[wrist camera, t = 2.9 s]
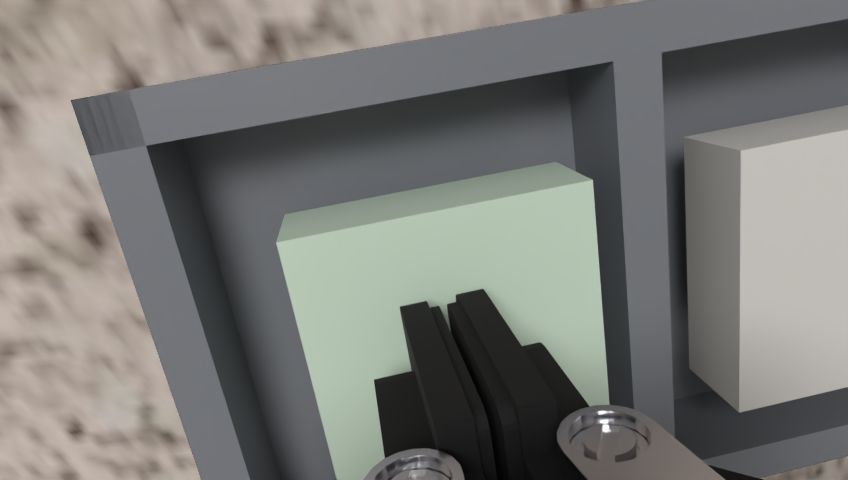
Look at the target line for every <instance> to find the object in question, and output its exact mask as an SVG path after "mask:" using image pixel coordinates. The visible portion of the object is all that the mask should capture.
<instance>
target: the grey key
mask: <svg viewBox="0 0 848 480" xmlns="http://www.w3.org/2000/svg"><path fill="white" fill-rule="evenodd" d="M684 167H685V208H686V249H687V290H688V331H689V369H691V370H692V371H693V372H694V373H695V374H696V375H697V376H698V377H700V378H701V379H702V380H703V381H704V382H705V383H706V384H707V385H709V386H710V387H711V388H712V389H713V390H714V391H715V392H716V393H718V394H719V395H720V396H721V397H722V398H723V399H724V400H725V401H727V402H728V403H729V404H730V405H731V406H732V407H733V408H734V409H736V410H737V411H738V412H739V413H740V412H744V411H749V410H753V409H757V408H761V407H766V406H770V405H774V404H778V403H782V402H787V401H791V400H795V399H799V398H803V397H808V396H812V395H816V394H820V393H825V392H829V391H833V390H837V389H841V388H846V387H848V105H846V106H841V107H836V108H831V109H825V110H820V111H815V112H810V113H805V114H800V115H794V116H789V117H784V118H779V119H774V120H769V121H764V122H758V123H753V124H748V125H743V126H738V127H733V128H727V129H722V130H717V131H712V132H707V133H702V134H696V135H691V136H686V137H684Z"/></svg>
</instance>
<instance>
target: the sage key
mask: <svg viewBox="0 0 848 480" xmlns="http://www.w3.org/2000/svg"><path fill="white" fill-rule="evenodd" d="M276 244H277V248H278V252H279V256H280V260H281V264H282V268H283V271H284V275H285V279H286V283H287V287H288V291H289V295H290V299H291V303H292V307H293V311H294V314H295V318H296V322H297V326H298V330H299V334H300V338H301V342H302V346H303V350H304V354H305V357H306V361H307V365H308V369H309V373H310V377H311V381H312V385H313V389H314V393H315V397H316V400H317V404H318V408H319V412H320V416H321V420H322V424H323V428H324V432H325V436H326V439H327V443H328V447H329V451H330V455H331V459H332V463H333V467H334V471H335V475H336V479H337V480H364V478H365V477H366V475H367V474H368V473H369V471H370V470H371V469H372V468H373V467H374V466H375V465H377V464H378V463H379V462H380V461H382V460H383V459H385V456H384V449H383V442H382V435H381V427H380V420H379V413H378V406H377V399H376V392H375V385H374V379H379V378H383V377H387V376H392V375H396V374H401V373H405V372H410V371H412V370H411V365H410V360H409V354H408V349H407V344H406V339H405V334H404V329H403V323H402V318H401V313H400V306H405V305H410V304H414V303H419V302H424V301H427V302H428V305H429V307H435V306H439V307H440V309H441V311H442V313H443V316H444V318H445V320H446V322H447V325H448V327H449V329H450V323H449V317H448V311H447V304H449V303H454V302H456V295H457V294H461V293H465V292H470V291H475V290H479V289H484V290H485V292H486V293H487V295H488V296H489V298H490V299H491V301H492V302H493V304H494V305H495V307H496V308H497V310H498V311H499V313H500V314H501V316H502V317H503V319H504V320H505V322H506V323H507V325H508V326H509V328H510V329H511V331H512V332H513V334H514V335H515V337H516V338H517V340H518V341H519V343H520V344H521V346H525V345H529V344H534V343H538V342H541V343H542V344H543V345H544V346H545V347H546V348H547V350H548V351H549V352H550V354H551V355H552V356H553V358H554V359H555V361H556V362H557V363H558V365H559V366H560V367H561V369H562V370H563V371H564V373H565V374H566V375H567V377H568V378H569V379H570V381H571V382H572V383H573V385H574V386H575V387H576V389H577V390H578V391H579V393H580V394H581V395H582V397H583V398H584V399H585V401H586V402H587V404H588V405H589V406H595V405H610V404H609V390H608V377H607V363H606V350H605V337H604V323H603V310H602V296H601V283H600V269H599V256H598V243H597V229H596V216H595V202H594V189H593V180H592V179H590V178H588V177H586V176H584V175H582V174H580V173H578V172H576V171H574V170H572V169H570V168H568V167H565V166H563V165H561V164H559V163H557V162H552V163H547V164H542V165H537V166H531V167H526V168H521V169H516V170H511V171H506V172H501V173H495V174H490V175H485V176H480V177H475V178H470V179H464V180H459V181H454V182H449V183H444V184H439V185H434V186H428V187H423V188H418V189H413V190H408V191H403V192H397V193H392V194H387V195H382V196H377V197H372V198H366V199H361V200H356V201H351V202H346V203H341V204H336V205H330V206H325V207H320V208H315V209H310V210H305V211H299V212H294V213H289V214H285V215H284V218H283V222H282V225H281V228H280V231H279V235H278V238H277V241H276ZM450 331H451V329H450Z"/></svg>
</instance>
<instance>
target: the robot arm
mask: <svg viewBox="0 0 848 480" xmlns="http://www.w3.org/2000/svg"><path fill="white" fill-rule="evenodd" d="M447 311H448V317H449V323H450V329H451V331H450V329H449V327H448V325H447V322H446V320H445V318H444V316H443V313H442V311H441V309H440V307H439V306H435V307H429V305H428V302H427V301H424V302H419V303H414V304H410V305H405V306H400V313H401V318H402V323H403V329H404V334H405V339H406V344H407V349H408V354H409V360H410V365H411V370H412V371H410V372H405V373H401V374H396V375H392V376H387V377H383V378H379V379H374V385H375V392H376V399H377V406H378V413H379V420H380V427H381V435H382V442H383V449H384V456H385V459H383V460H382V461H380V462H379V463H378V464H377V465H375V466H374V467H373V468H372V469H371V470H370V471H369V473H368V474H367V475H366V477H365V478H364V480H763V479H759V478H755V477H752V476H748V475H744V474H740V473H737V472H733V471H729V470H726V469H722V468H718V467H714V466H711V465H707V464H706V463H704V462H703V461H702V460H701V459H700V458H698V457H697V456H696V455H695V454H694V453H692V452H691V451H690V450H689V449H688V448H686V447H685V446H684V445H683V444H682V443H680V442H679V441H678V440H677V439H675V438H674V437H673V436H672V435H671V434H669V433H668V432H667V431H666V430H665V429H663V428H662V427H661V426H660V425H659V424H657V423H656V422H655V421H654V420H653V419H651V418H649V417H648V416H646V415H645V414H643V413H641V412H639V411H636V410H634V409H631V408H628V407H623V406H616V405H595V406H589V405H588V404H587V402H586V401H585V399H584V398H583V397H582V395H581V394H580V393H579V391H578V390H577V389H576V387H575V386H574V385H573V383H572V382H571V381H570V379H569V378H568V377H567V375H566V374H565V373H564V371H563V370H562V369H561V367H560V366H559V365H558V363H557V362H556V361H555V359H554V358H553V356H552V355H551V354H550V352H549V351H548V350H547V348H546V347H545V346H544V345H543V344H542V343H541V342H538V343H534V344H529V345H525V346H521V344H520V343H519V341H518V340H517V338H516V337H515V335H514V334H513V332H512V331H511V329H510V328H509V326H508V325H507V323H506V322H505V320H504V319H503V317H502V316H501V314H500V313H499V311H498V310H497V308H496V307H495V305H494V304H493V302H492V301H491V299H490V298H489V296H488V295H487V293H486V292H485V290H484V289H479V290H475V291H470V292H465V293H461V294H457V295H456V302H454V303H449V304H447Z"/></svg>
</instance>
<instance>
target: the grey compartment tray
mask: <svg viewBox="0 0 848 480" xmlns="http://www.w3.org/2000/svg"><path fill="white" fill-rule="evenodd" d="M71 102H72V105H73V108H74V111H75V114H76V117H77V120H78V123H79V126H80V129H81V131H82V134H83V137H84V140H85V143H86V146H87V149H88V152H89V155H90V158H91V160H92V163H93V166H94V169H95V172H96V175H97V178H98V181H99V184H100V187H101V190H102V192H103V195H104V198H105V201H106V204H107V207H108V210H109V213H110V216H111V219H112V221H113V224H114V227H115V230H116V233H117V236H118V239H119V242H120V245H121V248H122V251H123V253H124V256H125V259H126V262H127V265H128V268H129V271H130V274H131V277H132V280H133V283H134V285H135V288H136V291H137V294H138V297H139V300H140V303H141V306H142V309H143V312H144V314H145V317H146V320H147V323H148V326H149V329H150V332H151V335H152V338H153V341H154V344H155V346H156V349H157V352H158V355H159V358H160V361H161V364H162V367H163V370H164V373H165V375H166V378H167V381H168V384H169V387H170V390H171V393H172V396H173V399H174V402H175V405H176V407H177V410H178V413H179V416H180V419H181V422H182V425H183V428H184V431H185V434H186V436H187V439H188V442H189V445H190V448H191V451H192V454H193V457H194V460H195V463H196V466H197V468H198V471H199V474H200V477H201V480H337V479H336V475H335V471H334V467H333V463H332V459H331V455H330V451H329V447H328V443H327V439H326V436H325V432H324V428H323V424H322V420H321V416H320V412H319V408H318V404H317V400H316V397H315V393H314V389H313V385H312V381H311V377H310V373H309V369H308V365H307V361H306V357H305V354H304V350H303V346H302V342H301V338H300V334H299V330H298V326H297V322H296V318H295V314H294V311H293V307H292V303H291V299H290V295H289V291H288V287H287V283H286V279H285V275H284V271H283V268H282V264H281V260H280V256H279V252H278V248H277V244H276V241H277V238H278V235H279V231H280V228H281V225H282V222H283V218H284V215H285V214H289V213H294V212H299V211H305V210H310V209H315V208H320V207H325V206H330V205H336V204H341V203H346V202H351V201H356V200H361V199H366V198H372V197H377V196H382V195H387V194H392V193H397V192H403V191H408V190H413V189H418V188H423V187H428V186H434V185H439V184H444V183H449V182H454V181H459V180H464V179H470V178H475V177H480V176H485V175H490V174H495V173H501V172H506V171H511V170H516V169H521V168H526V167H531V166H537V165H542V164H547V163H552V162H557V163H559V164H561V165H563V166H565V167H568V168H570V169H572V170H574V171H576V172H578V173H580V174H582V175H584V176H586V177H588V178H590V179H592V180H593V189H594V202H595V216H596V229H597V243H598V256H599V269H600V283H601V296H602V310H603V323H604V337H605V350H606V363H607V377H608V390H609V404H610V405H616V406H623V407H628V408H631V409H634V410H636V411H639V412H641V413H643V414H645V415H646V416H648V417H649V418H651V419H653V420H654V421H655V422H656V423H657V424H659V425H660V426H661V427H662V428H663V429H665V430H666V431H667V432H668V433H669V434H671V435H672V436H673V437H674V438H675V439H677V440H678V441H679V442H680V443H682V444H683V445H684V446H685V447H686V448H688V449H689V450H690V451H691V452H692V453H694V454H695V455H696V456H697V457H698V458H700V459H701V460H702V461H703V462H704V463H706V464H707V465H711V466H714V467H718V468H722V469H726V470H729V471H733V472H737V473H740V474H744V475H748V476H752V477H755V478H762V477H766V476H770V475H774V474H778V473H782V472H786V471H790V470H794V469H798V468H802V467H806V466H810V465H814V464H818V463H822V462H826V461H830V460H834V459H838V458H842V457H846V456H848V387H846V388H841V389H837V390H833V391H829V392H825V393H820V394H816V395H812V396H808V397H803V398H799V399H795V400H791V401H787V402H782V403H778V404H774V405H770V406H766V407H761V408H757V409H753V410H749V411H744V412H740V413H739V412H738V411H737V410H736V409H734V408H733V407H732V406H731V405H730V404H729V403H728V402H727V401H725V400H724V399H723V398H722V397H721V396H720V395H719V394H718V393H716V392H715V391H714V390H713V389H712V388H711V387H710V386H709V385H707V384H706V383H705V382H704V381H703V380H702V379H701V378H700V377H698V376H697V375H696V374H695V373H694V372H693V371H692V370H691V369H689V331H688V290H687V249H686V208H685V167H684V137H686V136H691V135H696V134H702V133H707V132H712V131H717V130H722V129H727V128H733V127H738V126H743V125H748V124H753V123H758V122H764V121H769V120H774V119H779V118H784V117H789V116H794V115H800V114H805V113H810V112H815V111H820V110H825V109H831V108H836V107H841V106H846V105H848V0H646V1H640V2H634V3H628V4H622V5H617V6H611V7H605V8H599V9H593V10H588V11H582V12H576V13H570V14H564V15H559V16H553V17H547V18H541V19H535V20H530V21H524V22H518V23H512V24H506V25H501V26H495V27H489V28H483V29H477V30H472V31H466V32H460V33H454V34H448V35H443V36H437V37H431V38H425V39H419V40H414V41H408V42H402V43H396V44H390V45H385V46H379V47H373V48H367V49H361V50H356V51H350V52H344V53H338V54H332V55H327V56H321V57H315V58H309V59H303V60H298V61H292V62H286V63H280V64H274V65H269V66H263V67H257V68H251V69H245V70H240V71H234V72H228V73H222V74H216V75H211V76H205V77H199V78H193V79H187V80H182V81H176V82H170V83H164V84H158V85H153V86H147V87H141V88H136V89H130V90H125V91H119V92H114V93H108V94H103V95H97V96H91V97H86V98H80V99H75V100H71Z"/></svg>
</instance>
